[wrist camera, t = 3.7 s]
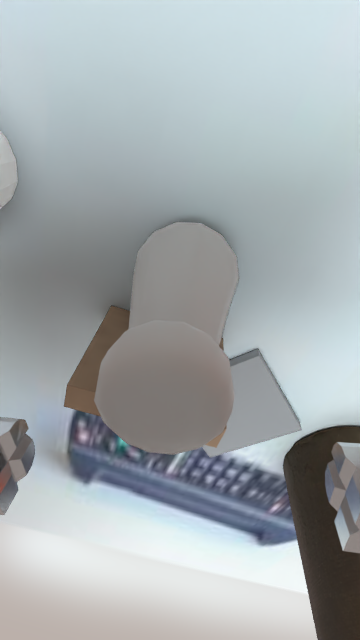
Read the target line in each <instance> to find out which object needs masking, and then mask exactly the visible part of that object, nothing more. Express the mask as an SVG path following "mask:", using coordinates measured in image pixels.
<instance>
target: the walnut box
mask: <svg viewBox="0 0 360 640" xmlns="http://www.w3.org/2000/svg"><path fill="white" fill-rule="evenodd" d="M129 318H130V311H128V310H125V309H122V308H118V307H115V306H111V307H110V309H109V311H108V313H107V314H106V316H105V318H104V320H103V322H102V323H101V325H100V327H99V329H98V331H97V332H96V334H95V336H94V338H93V340H92V341H91V343H90V345H89V347H88V348H87V350H86V352H85V354H84V356H83V357H82V359H81V361H80V363H79V365H78V366H77V368H76V370H75V372H74V374H73V375H72V377H71V379H70V381H69V382H68V384H67V389H66V396H65V402H64V407H68V408H72V409H75V410H79V411H83V412H86V413H90V414H94V415H97V416H101V415H100V413H99V411H98V409H97V406H96V404H95V402H94V398H95V392H96V387H97V381H98V376H99V370H100V365H101V362H102V360H103V358H104V357H105V355H106V353H107V351H108V350H109V349H110V348H111V347H112V346H113V344H114V343H115V342H116V341H117V340H118V339H119V338H120V337H121V335H122V334H123V333H124V332H125V331H127V330H128V329H129ZM219 347H220V348H221V349H222V350H223V339H222V338H221V341H220V344H219ZM226 429H227V426H225V428H224V431H223V433H221V434H220V435H218V436H217V437H215V438H214V439H212V440H211V441H209V442H208V443H207V444H205V445H207V446H211V447H215V448H217V446H218V444H219V442H220V440H221V438H222V437H223V435H224V433H225V431H226Z"/></svg>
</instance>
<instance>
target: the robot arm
mask: <svg viewBox="0 0 360 640" xmlns="http://www.w3.org/2000/svg"><path fill="white" fill-rule="evenodd" d="M27 430H28V426H27V423H26V421H25V420H23V419H16V418H6V417H0V515H5V513H6V511H7V509H8V508H9V506H10V504H11V502H12V500H13V499H14V497H15V495H16V493H17V491H18V486H17V482H18V481H19V480H20V479H22V478H23V477H24V476H26V475H27V473H28V471H29V470H30V468H31V466H32V463H33V459H34V455H35V445H34V442H33V439H31V438H30V437H29V436H28V435H27V434H25V433H26V432H27ZM332 455H333V459H334V460H332V461H331V462H329V463H328V464H327V468H326V471H325V486H326V493H327V496H328V500H329V503H330V504H331V505H332V506H333V507H334V508H335V509H336V511H337V512H338V513H337V516H336V518H335V521H334V522H335V525H336V529H337V532H338V536H339V539H340V543H341V546H342V550H343V551H347V552H354V553H360V444H359V443H343V442H336V443H335V444H334V446H333V449H332Z"/></svg>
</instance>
